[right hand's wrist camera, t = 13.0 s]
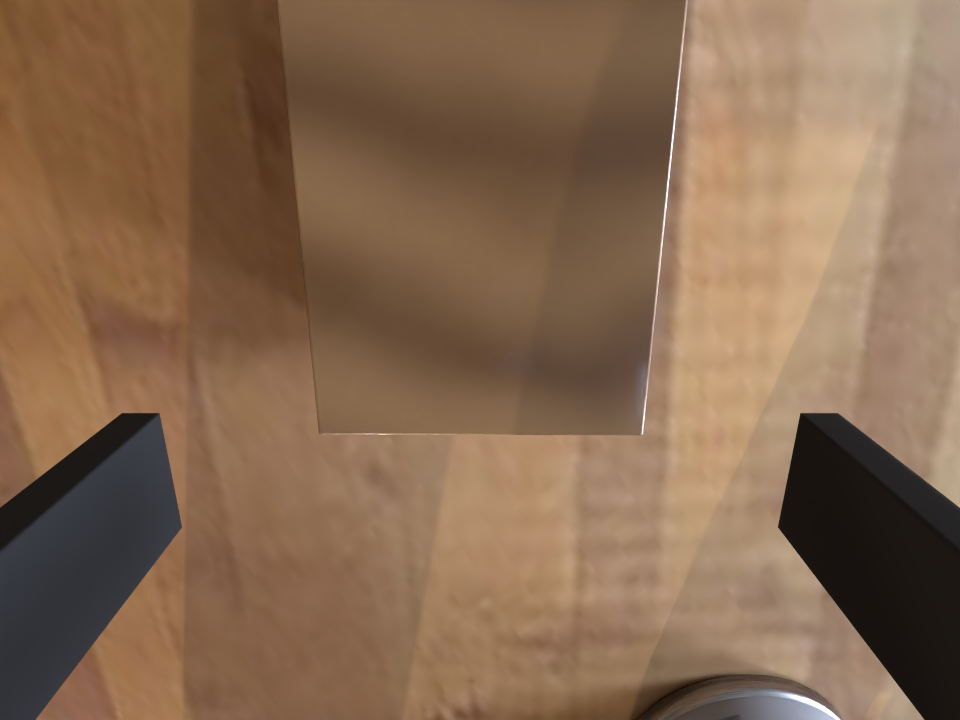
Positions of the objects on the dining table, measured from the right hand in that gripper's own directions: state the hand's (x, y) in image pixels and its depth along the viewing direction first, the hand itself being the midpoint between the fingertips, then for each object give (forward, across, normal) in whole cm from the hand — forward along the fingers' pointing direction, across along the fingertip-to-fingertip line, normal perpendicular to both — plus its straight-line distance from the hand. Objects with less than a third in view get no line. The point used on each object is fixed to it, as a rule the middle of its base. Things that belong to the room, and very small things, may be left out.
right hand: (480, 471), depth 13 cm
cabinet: (+18, 0, -7) cm, 20 cm away
